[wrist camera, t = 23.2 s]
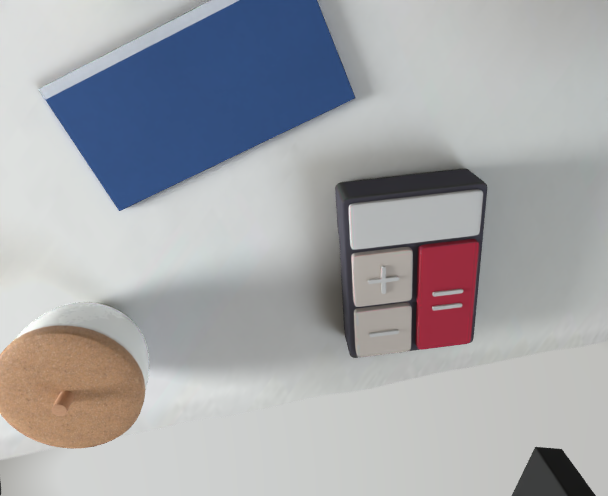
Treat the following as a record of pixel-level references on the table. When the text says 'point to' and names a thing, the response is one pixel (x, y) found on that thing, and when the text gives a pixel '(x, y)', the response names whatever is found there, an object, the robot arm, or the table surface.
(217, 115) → the blue book
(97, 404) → the trinket box
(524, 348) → the table surface
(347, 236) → the calculator
